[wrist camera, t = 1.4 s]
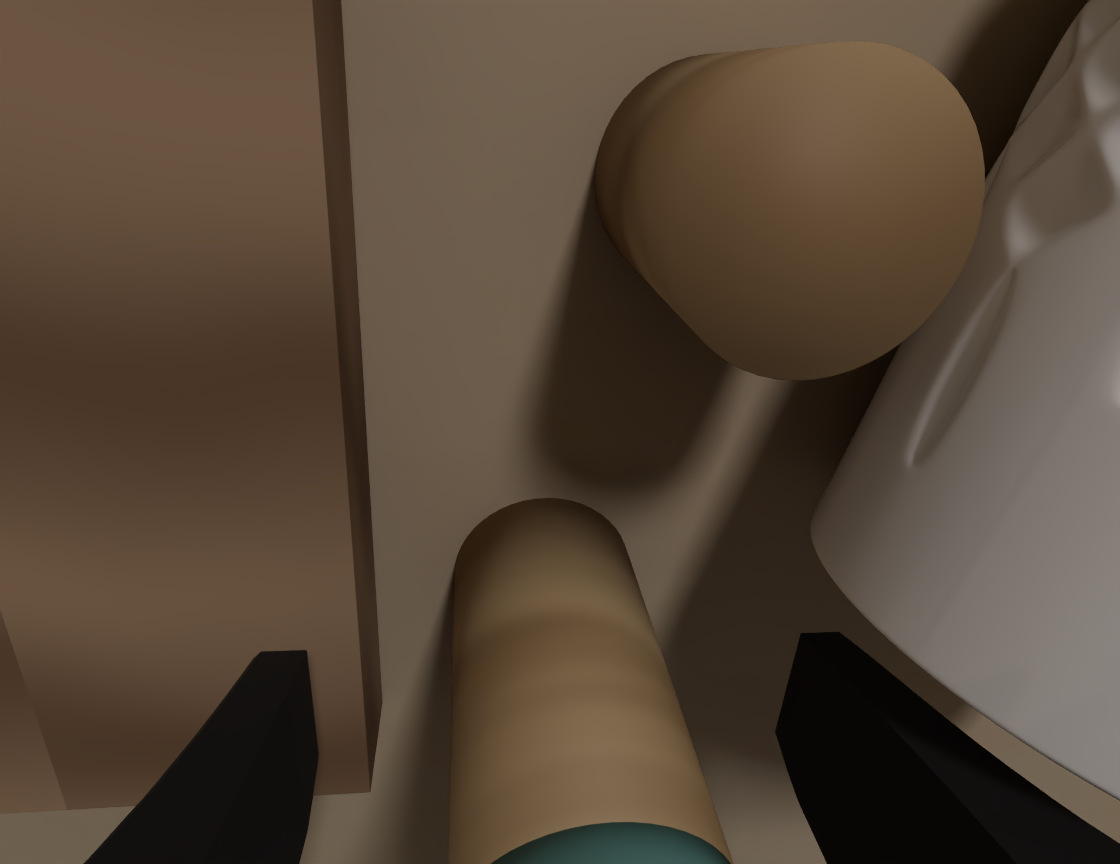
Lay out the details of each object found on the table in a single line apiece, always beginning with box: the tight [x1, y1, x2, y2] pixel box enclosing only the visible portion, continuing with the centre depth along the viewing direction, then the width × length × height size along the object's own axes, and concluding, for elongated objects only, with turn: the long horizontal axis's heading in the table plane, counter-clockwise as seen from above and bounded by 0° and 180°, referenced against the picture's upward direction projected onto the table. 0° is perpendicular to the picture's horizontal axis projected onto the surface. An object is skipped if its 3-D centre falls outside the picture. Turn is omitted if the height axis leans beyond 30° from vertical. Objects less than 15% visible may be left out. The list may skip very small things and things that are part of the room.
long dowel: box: [448, 498, 733, 864], centre depth 10 cm, size 3×3×7 cm
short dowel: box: [595, 41, 985, 381], centre depth 9 cm, size 3×3×4 cm
